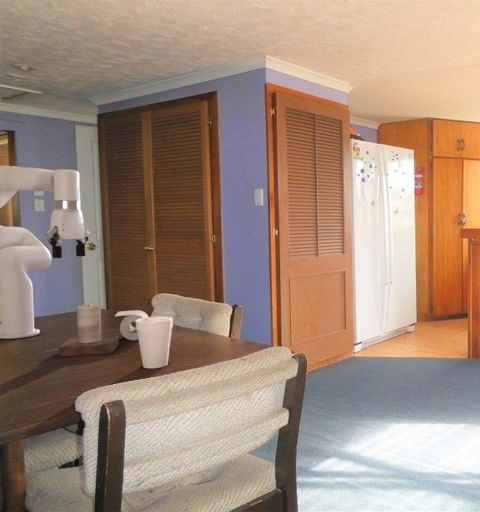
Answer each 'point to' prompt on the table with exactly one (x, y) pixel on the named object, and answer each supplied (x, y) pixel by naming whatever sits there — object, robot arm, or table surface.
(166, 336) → the foam cup
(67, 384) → the table surface
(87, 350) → the brown square plate
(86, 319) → the rotary dial knob
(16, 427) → the table surface
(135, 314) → the toilet paper holder
